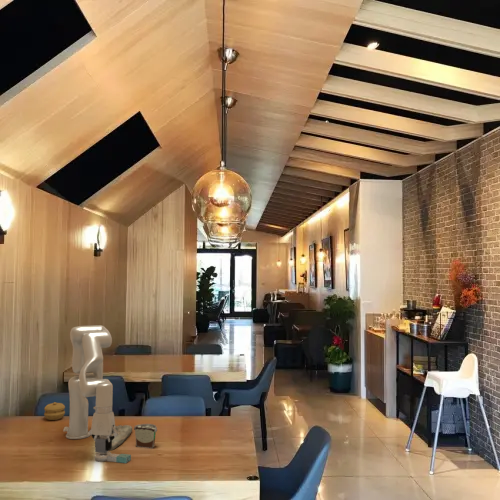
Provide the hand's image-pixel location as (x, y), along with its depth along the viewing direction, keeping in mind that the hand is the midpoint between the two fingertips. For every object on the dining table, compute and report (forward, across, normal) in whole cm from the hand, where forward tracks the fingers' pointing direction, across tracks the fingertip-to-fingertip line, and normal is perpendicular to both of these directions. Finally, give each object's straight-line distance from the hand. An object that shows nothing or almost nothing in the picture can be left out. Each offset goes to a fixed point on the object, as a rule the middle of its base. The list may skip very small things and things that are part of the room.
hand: (103, 449), depth 234 cm
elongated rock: (+5, -8, +28) cm, 30 cm away
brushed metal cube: (+1, 0, 0) cm, 1 cm away
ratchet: (+5, +5, 0) cm, 7 cm away
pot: (+5, -65, +53) cm, 84 cm away
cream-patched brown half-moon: (+5, +11, +23) cm, 26 cm away
